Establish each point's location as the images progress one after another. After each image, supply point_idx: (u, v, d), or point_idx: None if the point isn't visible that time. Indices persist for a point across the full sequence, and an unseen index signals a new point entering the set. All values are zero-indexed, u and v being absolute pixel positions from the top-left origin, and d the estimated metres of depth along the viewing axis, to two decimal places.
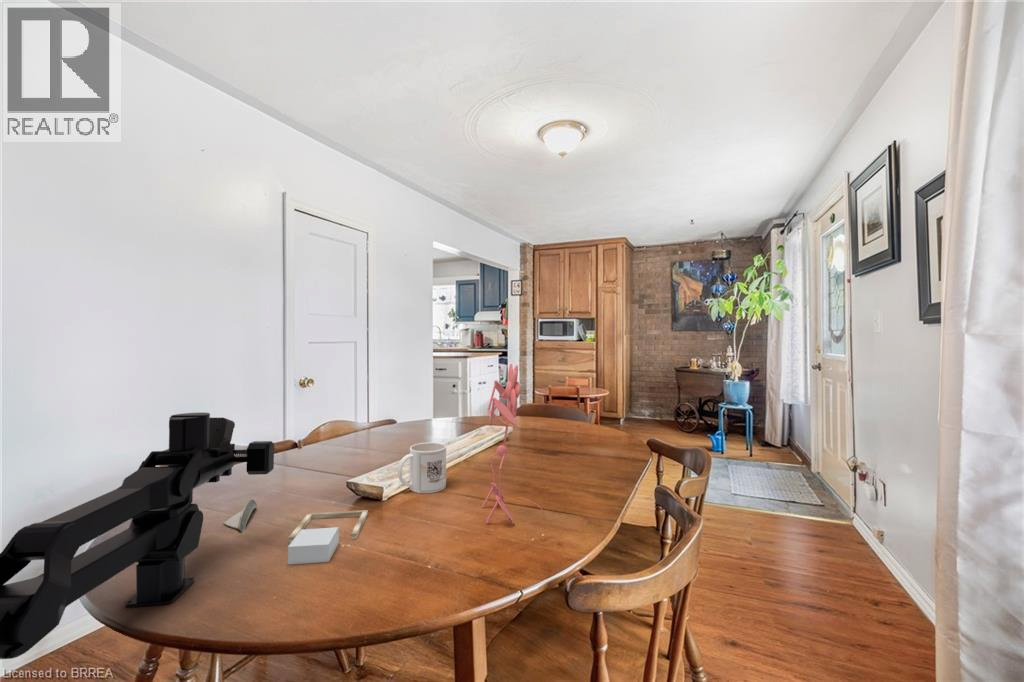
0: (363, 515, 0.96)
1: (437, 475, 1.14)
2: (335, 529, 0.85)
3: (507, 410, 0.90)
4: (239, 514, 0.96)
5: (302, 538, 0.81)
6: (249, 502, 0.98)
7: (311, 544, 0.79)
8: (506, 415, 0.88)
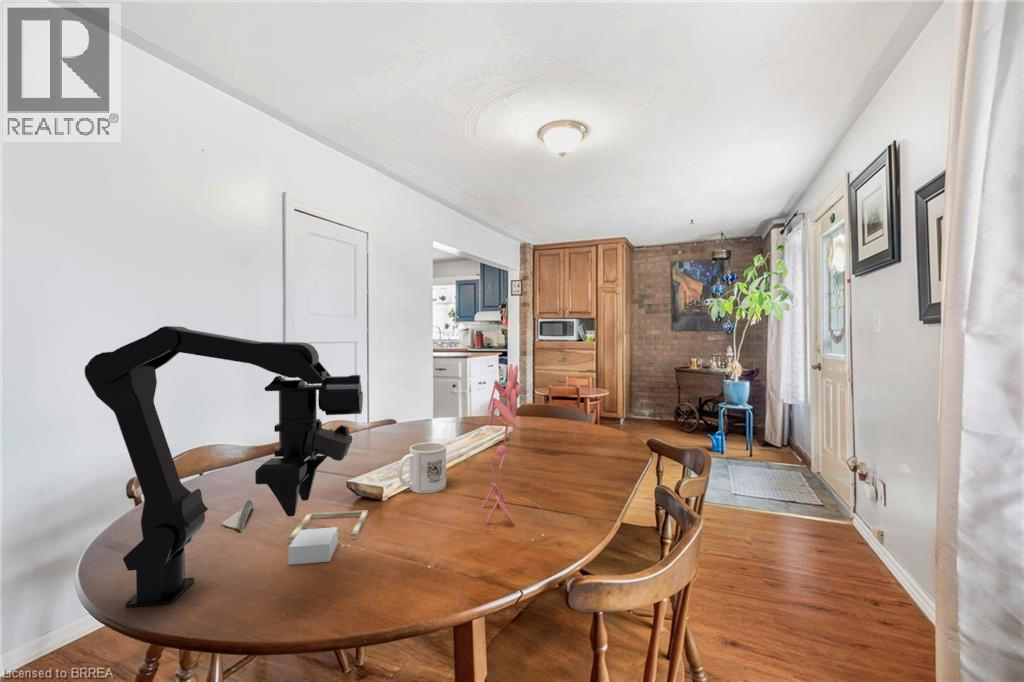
0: (363, 515, 0.96)
1: (436, 475, 1.14)
2: (335, 529, 0.85)
3: (507, 410, 0.90)
4: (236, 514, 0.96)
5: (302, 538, 0.81)
6: (246, 502, 0.98)
7: (312, 544, 0.79)
8: (506, 415, 0.88)
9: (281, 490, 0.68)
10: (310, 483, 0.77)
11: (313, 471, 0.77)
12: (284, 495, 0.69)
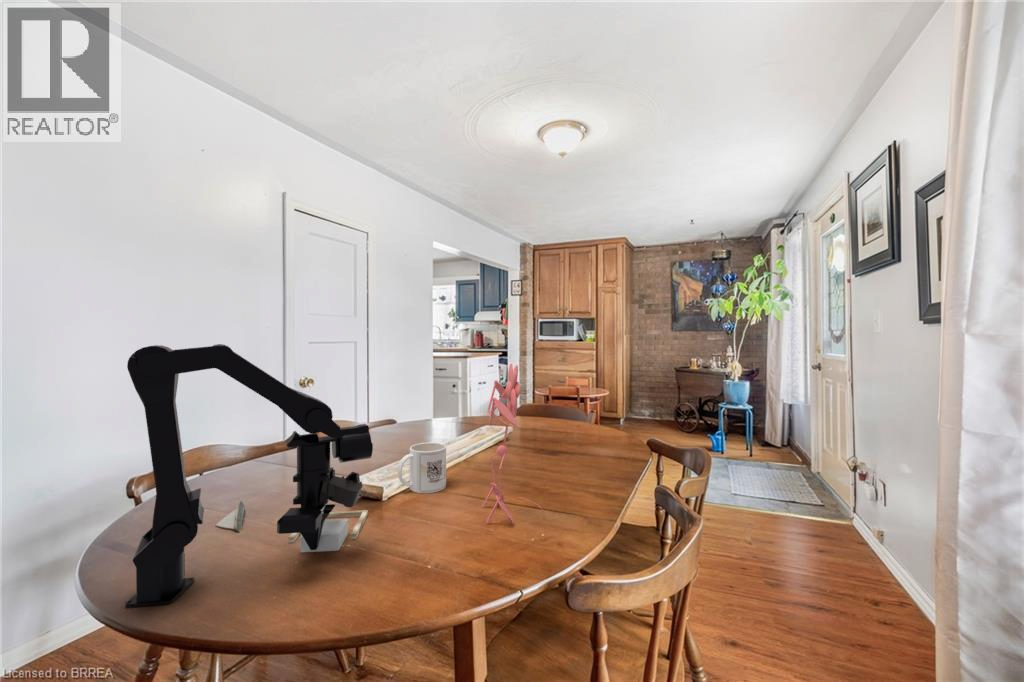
0: (363, 515, 0.96)
1: (436, 475, 1.14)
2: (345, 521, 0.89)
3: (507, 410, 0.90)
4: (230, 515, 0.96)
5: None
6: (240, 503, 0.98)
7: (322, 534, 0.83)
8: (506, 415, 0.88)
9: None
10: None
11: None
12: (308, 532, 0.80)
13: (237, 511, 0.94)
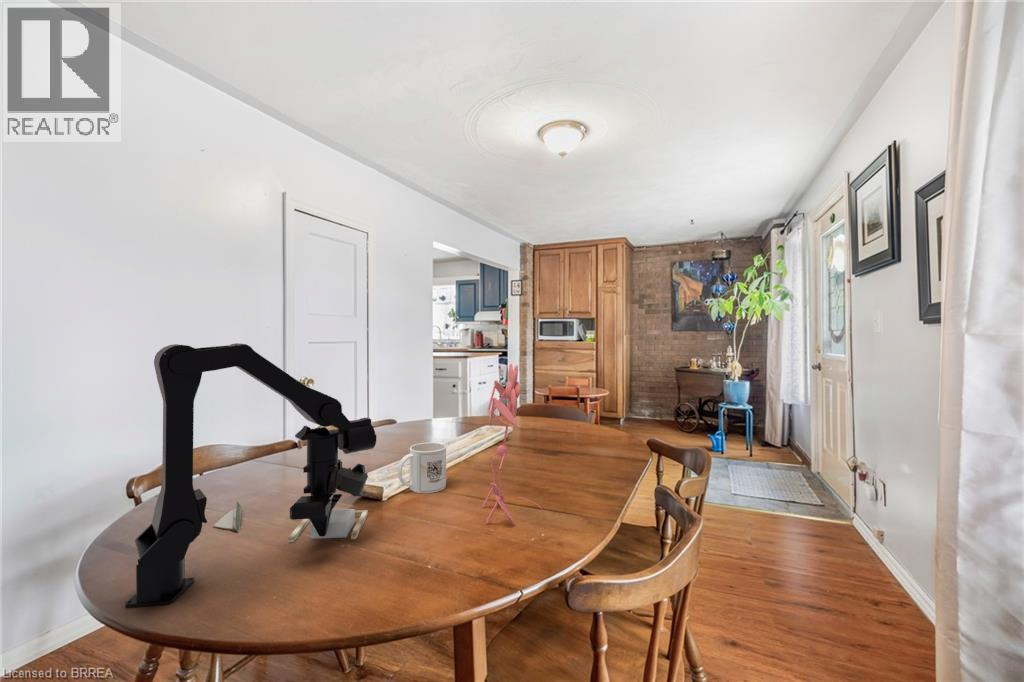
0: (363, 515, 0.96)
1: (436, 475, 1.14)
2: (352, 510, 0.94)
3: (507, 410, 0.90)
4: (228, 516, 0.95)
5: None
6: (237, 503, 0.97)
7: (331, 522, 0.88)
8: (506, 415, 0.88)
9: None
10: (327, 520, 0.87)
11: (330, 509, 0.87)
12: (317, 519, 0.85)
13: (235, 511, 0.93)
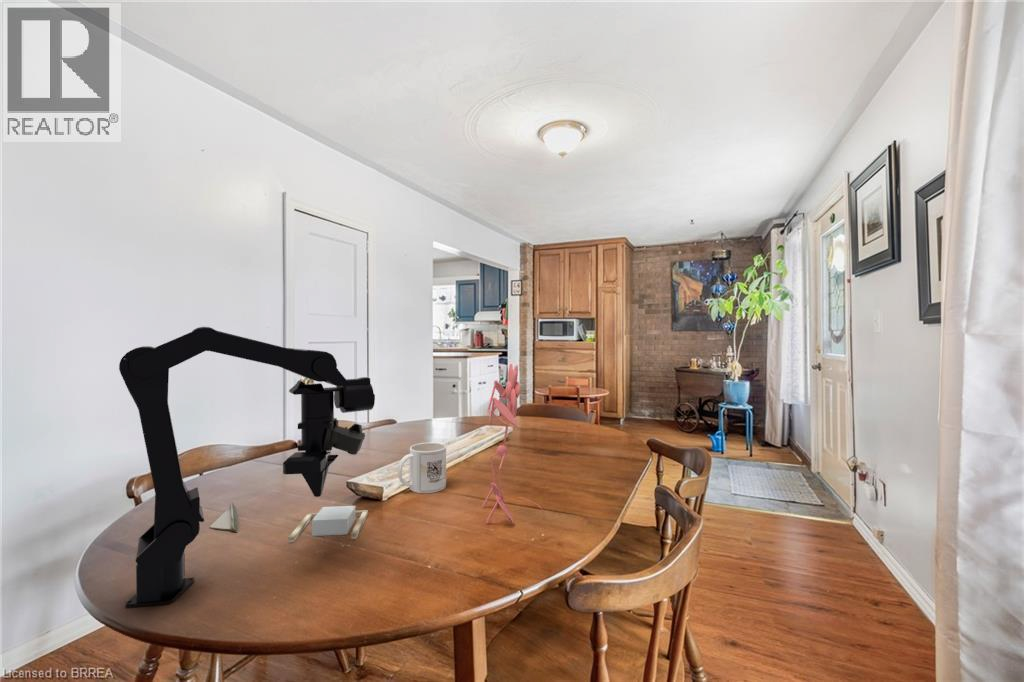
0: (363, 515, 0.96)
1: (436, 475, 1.14)
2: (352, 507, 0.96)
3: (507, 410, 0.90)
4: (224, 517, 0.95)
5: (324, 514, 0.92)
6: (232, 504, 0.97)
7: (332, 518, 0.90)
8: (506, 415, 0.88)
9: (310, 474, 0.81)
10: None
11: (326, 469, 0.84)
12: (312, 478, 0.82)
13: (232, 512, 0.93)
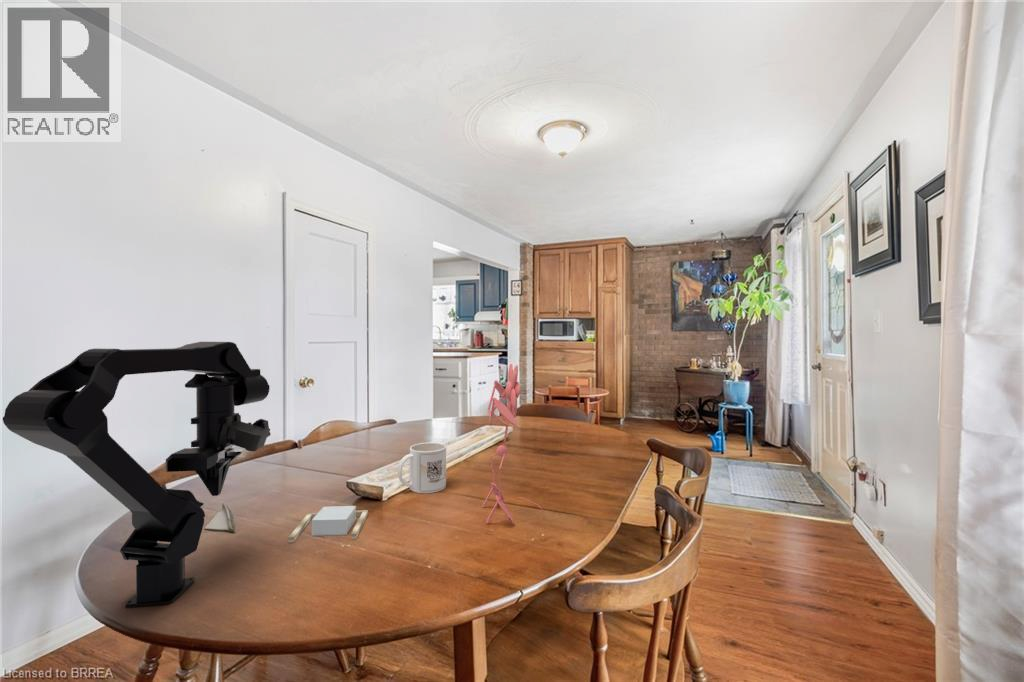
0: (363, 515, 0.96)
1: (436, 475, 1.14)
2: (353, 507, 0.95)
3: (507, 410, 0.90)
4: (218, 518, 0.94)
5: (324, 513, 0.92)
6: (226, 505, 0.96)
7: (331, 518, 0.90)
8: (506, 415, 0.88)
9: (205, 472, 0.77)
10: (222, 478, 0.79)
11: (225, 466, 0.79)
12: (208, 476, 0.77)
13: (228, 512, 0.93)
